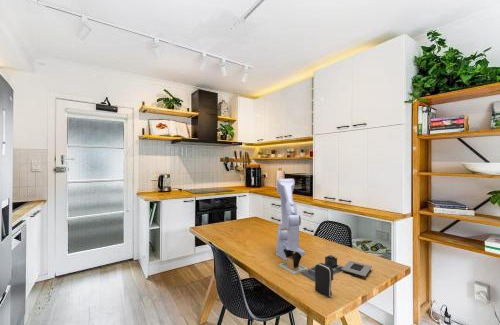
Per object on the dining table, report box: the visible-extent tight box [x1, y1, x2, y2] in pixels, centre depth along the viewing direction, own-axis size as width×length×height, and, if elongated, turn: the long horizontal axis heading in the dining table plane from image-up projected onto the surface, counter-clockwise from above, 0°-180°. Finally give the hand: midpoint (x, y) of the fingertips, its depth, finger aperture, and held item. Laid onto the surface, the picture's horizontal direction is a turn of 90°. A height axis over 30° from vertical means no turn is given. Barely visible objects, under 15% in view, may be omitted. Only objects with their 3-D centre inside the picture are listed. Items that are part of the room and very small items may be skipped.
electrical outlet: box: [341, 260, 373, 278], centre depth 114 cm, size 13×10×2 cm
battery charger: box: [314, 262, 334, 298], centre depth 95 cm, size 7×4×11 cm, turn 37°
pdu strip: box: [301, 254, 344, 282], centre depth 113 cm, size 22×8×7 cm, turn 122°
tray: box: [278, 261, 308, 275], centre depth 117 cm, size 11×9×1 cm
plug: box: [286, 256, 299, 270], centre depth 117 cm, size 4×4×6 cm
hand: (292, 265), depth 117 cm, fingers open, 4 cm apart
